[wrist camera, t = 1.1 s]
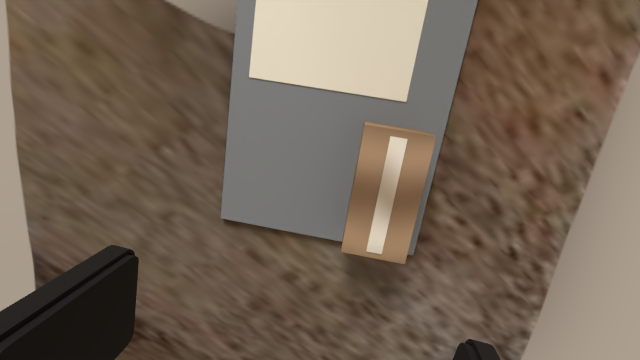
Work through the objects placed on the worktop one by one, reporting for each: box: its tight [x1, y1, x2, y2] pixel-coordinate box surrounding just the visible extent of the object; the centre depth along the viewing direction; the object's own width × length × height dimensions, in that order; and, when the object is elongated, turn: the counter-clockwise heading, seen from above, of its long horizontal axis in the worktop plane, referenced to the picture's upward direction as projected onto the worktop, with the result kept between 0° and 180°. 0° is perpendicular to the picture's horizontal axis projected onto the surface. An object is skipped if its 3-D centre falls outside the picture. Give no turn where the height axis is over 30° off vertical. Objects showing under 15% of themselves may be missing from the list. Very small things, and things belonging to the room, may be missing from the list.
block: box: [341, 121, 436, 264], centre depth 26 cm, size 10×5×4 cm, turn 171°
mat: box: [221, 0, 478, 255], centre depth 27 cm, size 24×18×1 cm
